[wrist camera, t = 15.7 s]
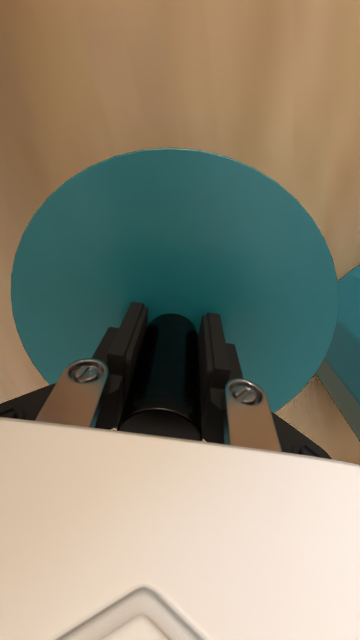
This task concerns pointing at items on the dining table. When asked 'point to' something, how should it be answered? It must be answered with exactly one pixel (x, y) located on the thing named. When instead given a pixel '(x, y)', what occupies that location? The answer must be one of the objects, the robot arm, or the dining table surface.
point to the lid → (176, 279)
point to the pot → (345, 353)
